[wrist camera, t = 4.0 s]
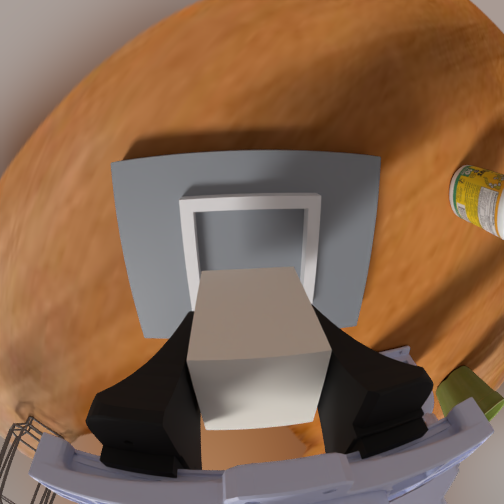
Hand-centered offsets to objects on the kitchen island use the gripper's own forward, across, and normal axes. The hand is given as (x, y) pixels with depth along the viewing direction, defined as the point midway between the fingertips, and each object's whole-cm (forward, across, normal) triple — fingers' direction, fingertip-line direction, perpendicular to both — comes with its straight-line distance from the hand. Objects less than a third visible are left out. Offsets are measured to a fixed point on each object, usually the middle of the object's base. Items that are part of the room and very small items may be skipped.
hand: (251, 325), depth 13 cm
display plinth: (+9, 0, -1) cm, 9 cm away
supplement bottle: (+9, -22, -6) cm, 24 cm away
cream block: (+2, 0, 0) cm, 2 cm away
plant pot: (+9, -34, +26) cm, 44 cm away
